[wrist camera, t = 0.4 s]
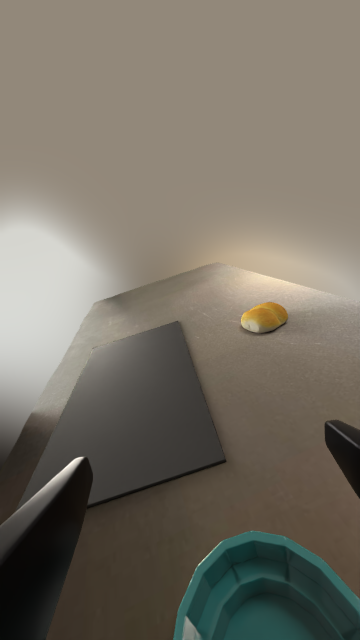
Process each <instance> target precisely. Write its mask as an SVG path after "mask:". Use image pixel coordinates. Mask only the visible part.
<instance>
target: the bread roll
mask: <svg viewBox="0 0 360 640" xmlns="http://www.w3.org/2000/svg"><path fill="white" fill-rule="evenodd" d="M287 319H288V314H287V312H286V310H285V308H284V307H282V306H281V305H279V304H277V303H272V302H267V303H263V304H260V305H258V306H255V307H254V308H252V309H251V310H249V311H247V312H245V313H244V314H243V316H242V318H241V324H242V326H243V327H244V328H245V329H247V330H249V331H252V332H257V333H264V332H268V331H272V330H274V329H276V328H277V327H278V326H280V325H281V324H283V323H284V322H286V320H287Z"/></svg>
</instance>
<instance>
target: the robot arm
mask: <svg viewBox="0 0 360 640" xmlns="http://www.w3.org/2000/svg"><path fill="white" fill-rule="evenodd" d="M325 442H326V445H327V447H328V449H329V450H330V452H331V454H332V455H333V457H334V459H335V460H336V462H337V464H338V465H339V467H340V469H341V470H342V472H343V473H344V475H345V477H346V478H347V480H348V482H349V483H350V485H351V487H352V488H353V490H354V491H355V493H356V494H357V496H358V497H359V498H360V430H359V429H357V428H354V427H352V426H350V425H348V424H346V423H344V422H341V421H339V420H330V421H326V422H325ZM92 482H93V472H92V469H91V466H90V462H89V459H88V458H87V457H79V458H76V459H74V460H73V461H72V462H71V463H70V464H69V465H68V466H66V467H65V468H64V469H63V470H62V471H61V472H60V473H59V474H58V475H56V476H55V477H54V478H53V479H52V480H51V481H50V482H49V483H47V484H46V485H45V486H44V487H43V488H42V489H41V490H40V491H39V492H37V493H36V494H35V495H34V496H33V497H32V498H31V499H30V500H29V501H27V502H26V503H25V504H24V505H23V506H22V507H21V508H20V509H19V510H17V511H16V512H15V513H14V514H13V515H12V516H11V517H10V518H9V519H7V520H6V521H5V522H4V523H3V524H2V525H1V526H0V640H45V639H46V636H47V633H48V630H49V627H50V624H51V621H52V618H53V615H54V612H55V609H56V606H57V603H58V599H59V596H60V593H61V590H62V587H63V584H64V581H65V578H66V575H67V572H68V569H69V566H70V563H71V560H72V557H73V554H74V550H75V547H76V544H77V541H78V538H79V535H80V532H81V528H82V524H83V521H84V516H85V512H86V508H87V504H88V499H89V495H90V491H91V487H92Z"/></svg>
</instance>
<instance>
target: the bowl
mask: <svg viewBox="0 0 360 640" xmlns="http://www.w3.org/2000/svg"><path fill="white" fill-rule="evenodd" d="M173 640H360V599H359V598H358V597H357V596H356V595H355V594H354V593H353V591H352V590H351V589H350V588H349V587H348V586H347V585H346V584H345V583H344V582H343V581H342V579H341V578H340V577H339V576H338V575H337V574H336V573H335V572H334V571H333V570H332V569H331V567H330V566H329V565H328V564H327V563H326V562H325V561H323V559H321V558H320V557H318V556H317V555H315V554H313V553H312V552H310V551H308V550H307V549H305V548H304V547H302V546H300V545H299V544H297V543H296V542H294V541H292V540H291V539H289V538H287V537H285V536H281V535H275V534H269V533H263V532H257V531H249V532H246V533H243V534H240V535H237V536H234V537H231V538H228V539H225V540H223V541H221V542H220V543H219V544H218V545H217V546H216V547H215V548H214V549H213V551H212V552H211V553H210V554H209V555H208V556H207V557H206V558H205V559H204V560H203V561H202V562H201V563H200V564H199V565H198V567H197V568H196V570H195V573H194V575H193V577H192V579H191V582H190V584H189V586H188V588H187V591H186V593H185V595H184V598H183V600H182V602H181V604H180V607H179V611H178V614H177V620H176V626H175V632H174V639H173Z"/></svg>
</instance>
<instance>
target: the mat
mask: <svg viewBox="0 0 360 640" xmlns="http://www.w3.org/2000/svg"><path fill="white" fill-rule="evenodd" d="M79 457H87V458H88V459H89V462H90V466H91V469H92V472H93V482H92V487H91V491H90V495H89V499H88V504H87V508H88V507H91V506H94V505H97V504H100V503H103V502H106V501H109V500H112V499H115V498H118V497H121V496H124V495H127V494H130V493H133V492H136V491H139V490H142V489H145V488H148V487H151V486H154V485H157V484H160V483H163V482H166V481H169V480H172V479H175V478H178V477H181V476H184V475H187V474H190V473H193V472H196V471H199V470H202V469H205V468H208V467H211V466H214V465H217V464H220V463H223V462H226V459H225V456H224V453H223V450H222V447H221V445H220V442H219V439H218V436H217V433H216V430H215V427H214V424H213V421H212V418H211V415H210V412H209V410H208V407H207V404H206V401H205V398H204V395H203V392H202V389H201V386H200V383H199V380H198V377H197V375H196V372H195V369H194V366H193V363H192V360H191V357H190V354H189V351H188V348H187V345H186V342H185V339H184V337H183V334H182V331H181V328H180V325H179V322H178V321H176V322H173V323H169V324H166V325H163V326H160V327H157V328H154V329H151V330H148V331H145V332H141V333H138V334H135V335H132V336H129V337H126V338H123V339H120V340H117V341H113V342H110V343H107V344H104V345H101V346H98V347H95V348H93V349H92V351H91V353H90V355H89V358H88V360H87V362H86V364H85V366H84V368H83V370H82V372H81V374H80V376H79V379H78V381H77V383H76V385H75V387H74V389H73V391H72V393H71V395H70V398H69V400H68V402H67V404H66V406H65V408H64V410H63V412H62V414H61V416H60V419H59V421H58V423H57V425H56V427H55V429H54V431H53V433H52V435H51V438H50V440H49V442H48V444H47V446H46V448H45V450H44V452H43V454H42V457H41V459H40V461H39V463H38V465H37V467H36V469H35V471H34V473H33V475H32V478H31V480H30V482H29V484H28V486H27V488H26V490H25V492H24V494H23V497H22V499H21V501H20V503H19V505H18V507H17V509H16V511H17V510H19V509H20V508H21V507H22V506H23V505H24V504H25V503H26V502H27V501H29V500H30V499H31V498H32V497H33V496H34V495H35V494H36V493H37V492H39V491H40V490H41V489H42V488H43V487H44V486H45V485H46V484H47V483H49V482H50V481H51V480H52V479H53V478H54V477H55V476H56V475H58V474H59V473H60V472H61V471H62V470H63V469H64V468H65V467H66V466H68V465H69V464H70V463H71V462H72V461H73V460H74V459H76V458H79ZM16 511H15V512H16Z"/></svg>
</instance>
